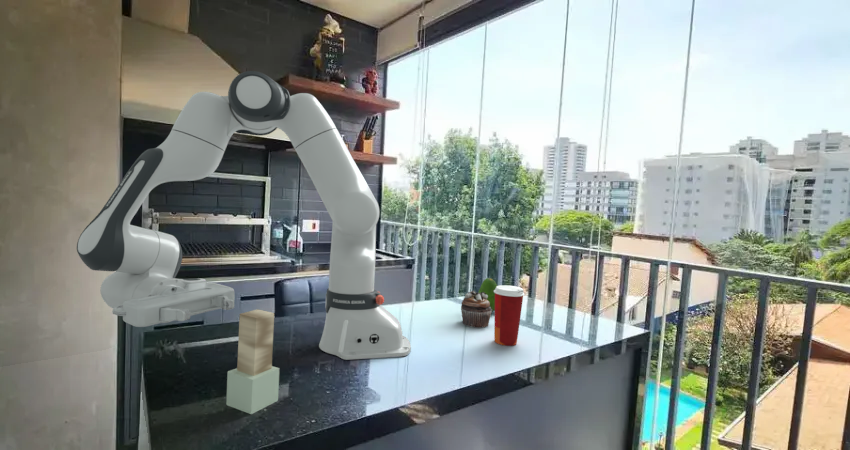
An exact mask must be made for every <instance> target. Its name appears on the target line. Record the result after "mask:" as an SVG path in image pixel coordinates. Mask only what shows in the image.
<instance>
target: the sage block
mask: <svg viewBox="0 0 850 450" xmlns="http://www.w3.org/2000/svg"><path fill="white" fill-rule="evenodd" d="M226 379H227V380H226V406H228V407H231V408H233V409H236V410H239V411H241V412H244V413H247V414H250V415H253V414H255V413H257V412H258V411H260V410H263V409H265V408H267V407H269V406H270V405H272V404H275V403H277V402H278V401H279V390H280V389H279V386H280V385H279V384H280V367H276V366H273V365H272V369H269V370H267V371H264V372H262V373H260V374H257V375H255V376H252V375H249V374H246V373H243V372H240V371H237V367H236V368H233V369H230V370H228V371H227V377H226Z"/></svg>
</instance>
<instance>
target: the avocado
mask: <svg viewBox="0 0 850 450" xmlns="http://www.w3.org/2000/svg"><path fill="white" fill-rule="evenodd" d="M496 286H498V284H497V282H496V281H495V280H494V279H493V278H491V277H487V278H485V279H484V280H483V281H482V282H481V285H480V287H479V289H478V292H477V293H481V292H485V293H486V295H488V298H487V300H488V301H489V302H490V305H489V306H490V307H491V309H492V312H495V293H494V290H495V288H496Z"/></svg>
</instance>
